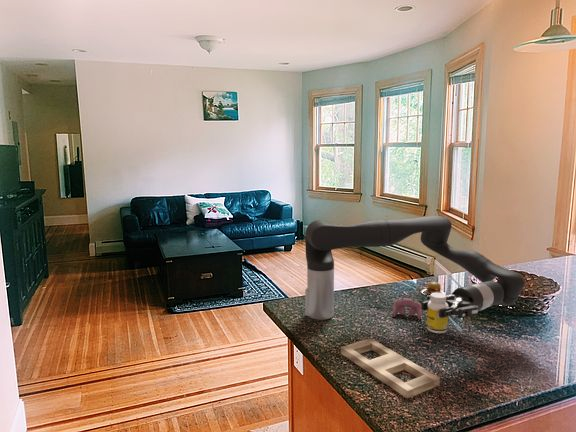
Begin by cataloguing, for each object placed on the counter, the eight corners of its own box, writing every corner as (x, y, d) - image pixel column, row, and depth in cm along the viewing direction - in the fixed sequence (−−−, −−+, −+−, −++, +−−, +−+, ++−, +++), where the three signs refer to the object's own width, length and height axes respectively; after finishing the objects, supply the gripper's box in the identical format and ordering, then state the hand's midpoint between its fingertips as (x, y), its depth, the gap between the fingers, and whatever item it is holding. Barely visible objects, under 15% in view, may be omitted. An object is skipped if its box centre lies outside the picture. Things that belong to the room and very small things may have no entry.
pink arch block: (421, 320, 152) (422, 300, 154) (421, 319, 148) (422, 298, 149) (392, 317, 155) (393, 297, 157) (391, 316, 151) (392, 295, 153)
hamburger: (414, 289, 180) (415, 276, 179) (444, 290, 179) (445, 277, 178) (420, 300, 168) (421, 286, 167) (452, 301, 167) (453, 287, 166)
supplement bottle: (423, 325, 121) (424, 291, 119) (442, 324, 122) (444, 291, 120) (431, 334, 116) (432, 299, 114) (450, 333, 116) (452, 298, 114)
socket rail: (340, 353, 126) (340, 347, 126) (370, 344, 131) (370, 338, 131) (407, 398, 104) (407, 390, 104) (439, 385, 109) (439, 377, 109)
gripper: (452, 278, 130) (411, 288, 122) (496, 293, 118) (454, 305, 109) (451, 302, 131) (410, 314, 123) (494, 319, 119) (452, 333, 111)
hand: (431, 310), depth 116 cm, fingers closed on supplement bottle, 5 cm apart
